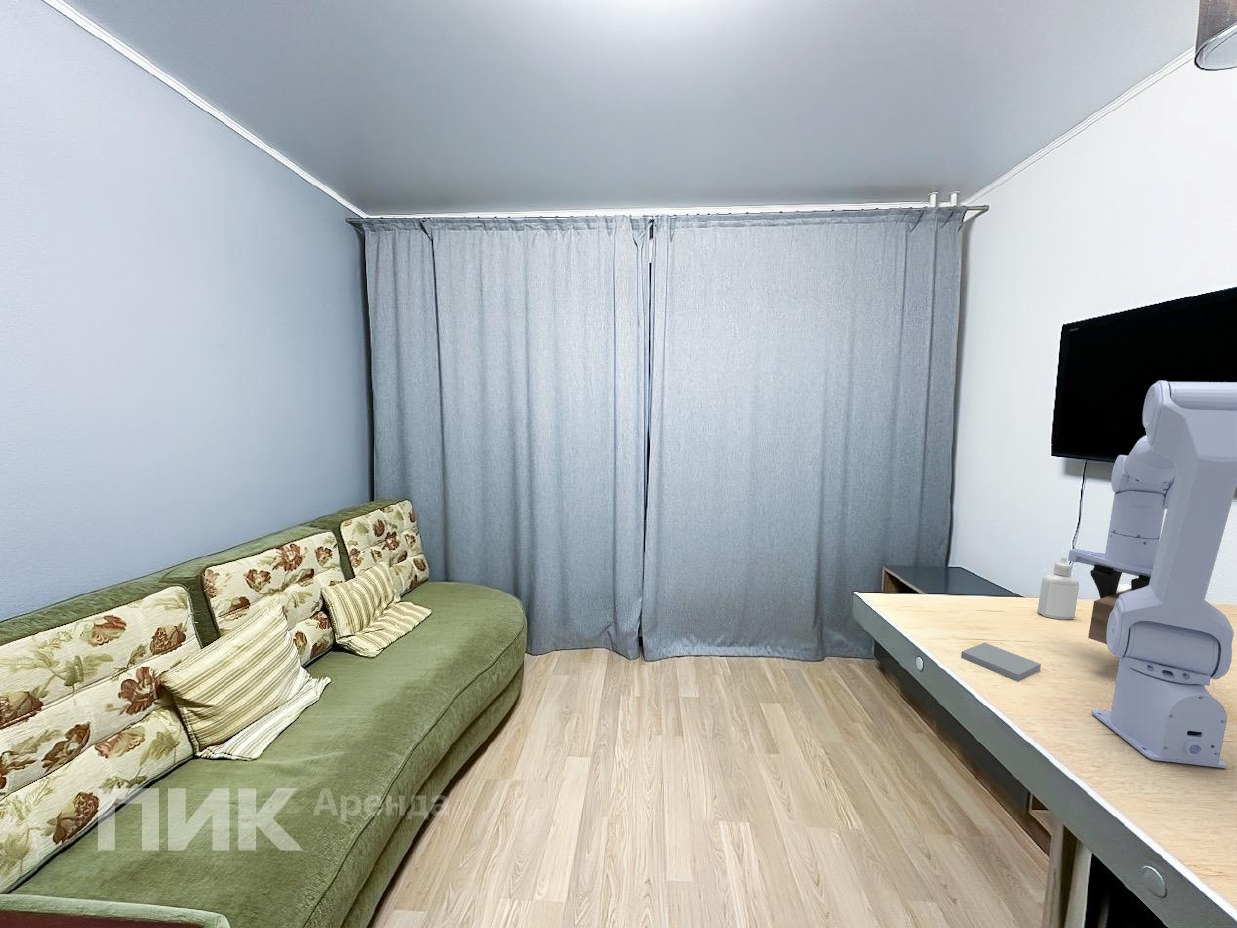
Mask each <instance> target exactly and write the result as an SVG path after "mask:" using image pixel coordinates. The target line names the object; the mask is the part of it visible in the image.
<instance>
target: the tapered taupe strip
mask: <svg viewBox="0 0 1237 928" xmlns="http://www.w3.org/2000/svg"><path fill="white" fill-rule="evenodd" d="M1130 591H1131V589H1128V590H1125V591H1122V592H1119V593H1116V594H1113V595H1110V596H1107V597H1104V598H1101V599H1100V598H1099V599H1096V600H1094V601H1093V605H1092V612H1091V618H1090V624H1089V631H1088V636H1087V639H1090V640H1093V641H1096V642H1098V643H1101V644H1105V645H1107V624H1108V619H1109V616H1110V613H1111V612H1112V611H1113V609H1114V606H1115V603H1116V600H1117V599H1119V595H1121V594H1124V593H1127V592H1130Z"/></svg>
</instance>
